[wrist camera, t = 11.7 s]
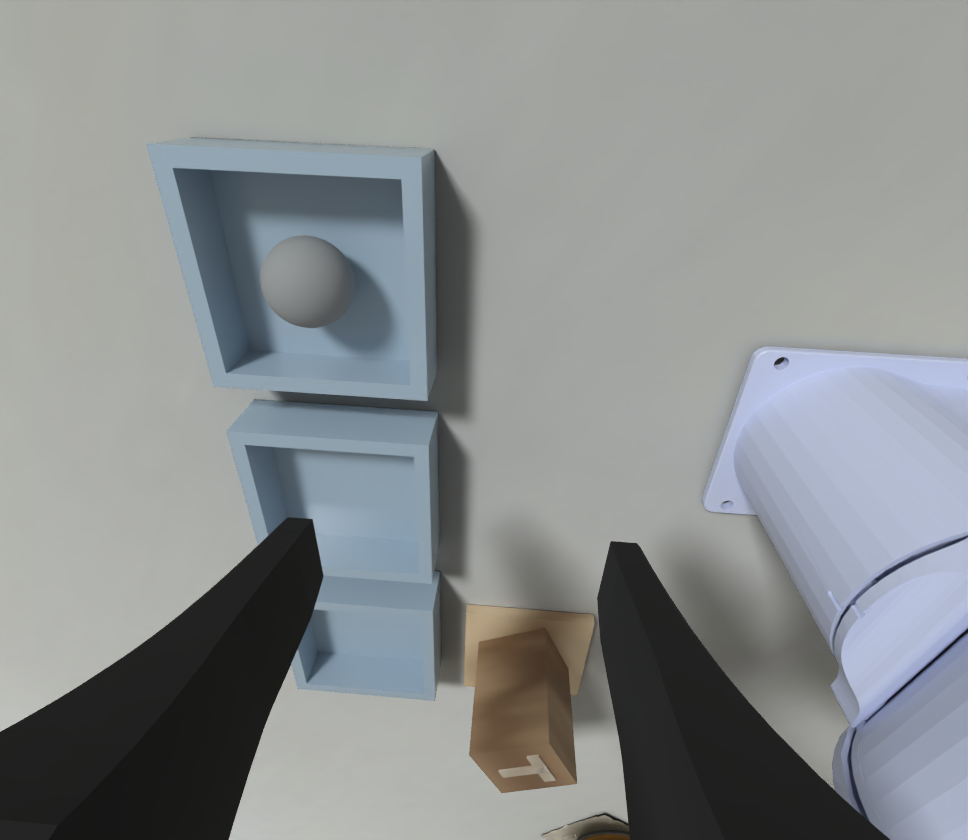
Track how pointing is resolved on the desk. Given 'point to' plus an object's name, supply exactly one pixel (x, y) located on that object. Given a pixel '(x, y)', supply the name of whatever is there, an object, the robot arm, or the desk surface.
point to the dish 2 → (345, 483)
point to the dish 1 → (313, 212)
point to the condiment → (592, 830)
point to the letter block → (523, 713)
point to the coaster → (496, 622)
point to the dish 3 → (372, 639)
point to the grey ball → (307, 281)
